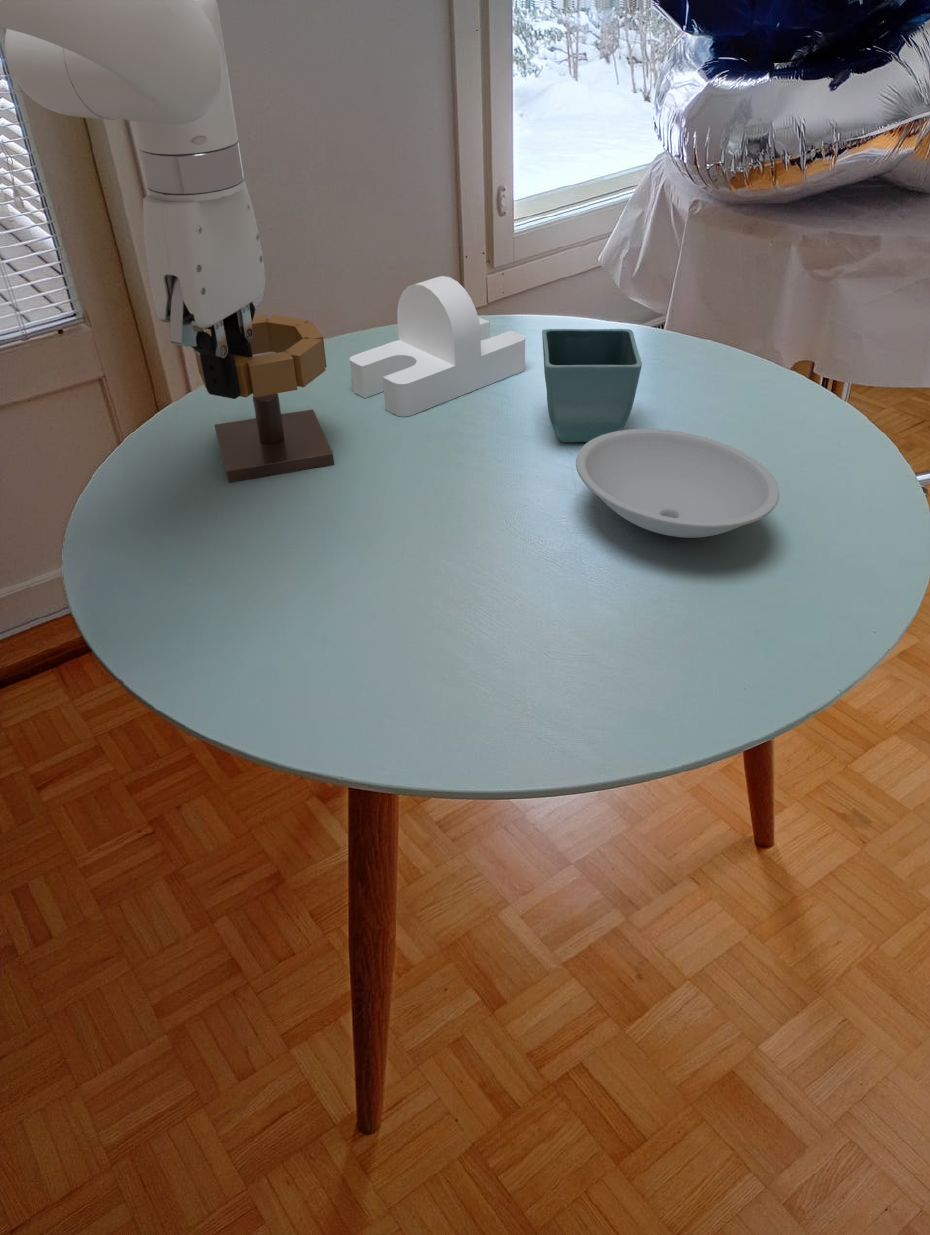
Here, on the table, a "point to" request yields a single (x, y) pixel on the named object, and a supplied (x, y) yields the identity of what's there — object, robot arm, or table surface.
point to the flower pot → (589, 380)
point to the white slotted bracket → (436, 351)
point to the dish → (677, 481)
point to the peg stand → (272, 442)
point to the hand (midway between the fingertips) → (232, 388)
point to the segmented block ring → (279, 356)
